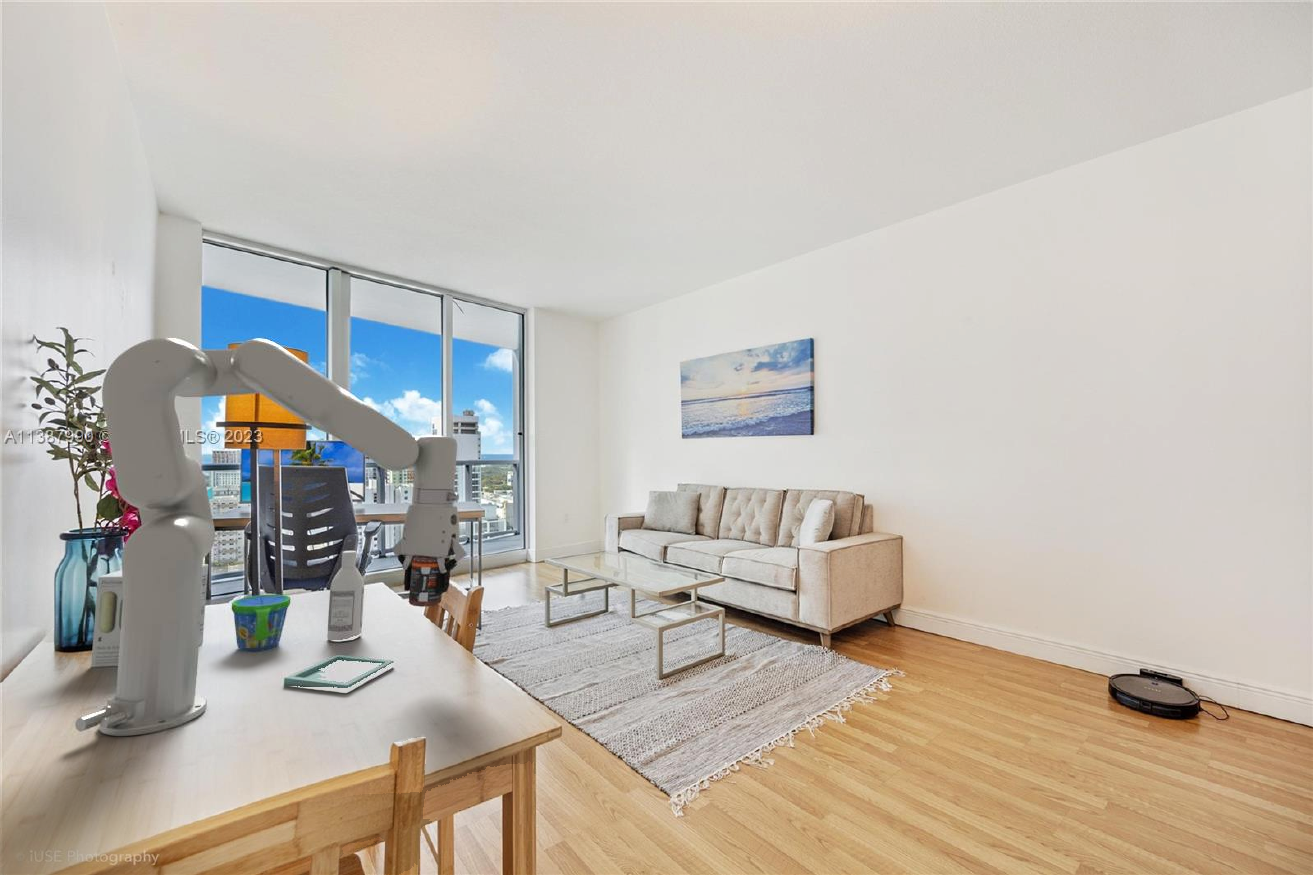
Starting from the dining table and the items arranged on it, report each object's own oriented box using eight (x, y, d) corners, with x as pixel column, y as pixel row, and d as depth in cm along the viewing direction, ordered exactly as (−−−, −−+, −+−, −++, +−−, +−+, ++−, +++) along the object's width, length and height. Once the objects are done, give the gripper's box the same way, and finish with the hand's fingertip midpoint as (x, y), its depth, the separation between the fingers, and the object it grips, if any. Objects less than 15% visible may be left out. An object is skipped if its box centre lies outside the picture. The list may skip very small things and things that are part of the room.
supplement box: (87, 668, 107) (95, 576, 108) (131, 646, 120) (137, 564, 121) (170, 664, 111) (176, 575, 112) (204, 643, 124) (210, 563, 124)
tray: (346, 694, 99) (346, 685, 100) (283, 686, 102) (284, 678, 102) (393, 668, 112) (393, 660, 112) (336, 662, 115) (337, 654, 115)
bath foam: (346, 632, 134) (351, 548, 135) (368, 636, 132) (372, 550, 133) (319, 640, 128) (325, 552, 129) (342, 644, 125) (347, 554, 126)
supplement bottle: (429, 608, 105) (434, 548, 106) (401, 605, 106) (406, 545, 107) (447, 602, 111) (451, 544, 112) (420, 599, 112) (425, 542, 113)
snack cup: (286, 654, 118) (289, 605, 119) (223, 661, 113) (227, 610, 113) (289, 633, 132) (291, 590, 132) (233, 639, 126) (236, 594, 127)
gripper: (482, 500, 112) (476, 591, 111) (405, 495, 115) (398, 583, 114) (463, 501, 105) (456, 599, 103) (381, 496, 108) (373, 590, 107)
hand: (426, 590), depth 109 cm, fingers closed on supplement bottle, 6 cm apart
